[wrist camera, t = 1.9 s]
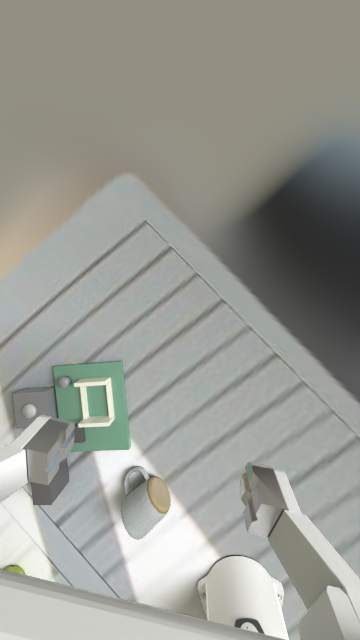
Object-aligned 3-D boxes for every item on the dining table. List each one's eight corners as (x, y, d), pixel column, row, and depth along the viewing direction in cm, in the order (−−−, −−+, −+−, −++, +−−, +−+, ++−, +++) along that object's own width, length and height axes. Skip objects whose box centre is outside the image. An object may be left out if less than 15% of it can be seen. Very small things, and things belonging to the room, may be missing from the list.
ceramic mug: (175, 490, 46) (170, 524, 39) (150, 512, 47) (140, 550, 39) (143, 455, 47) (132, 483, 39) (119, 478, 47) (103, 509, 40)
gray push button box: (58, 419, 48) (47, 428, 44) (27, 421, 49) (13, 430, 45) (54, 386, 48) (43, 392, 44) (23, 388, 48) (9, 394, 45)
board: (130, 446, 47) (124, 459, 42) (65, 448, 48) (53, 461, 44) (122, 360, 46) (114, 365, 42) (56, 365, 47) (43, 370, 43)
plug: (69, 481, 48) (51, 504, 42) (53, 481, 49) (33, 505, 43) (66, 453, 48) (47, 473, 42) (50, 454, 48) (29, 474, 42)
